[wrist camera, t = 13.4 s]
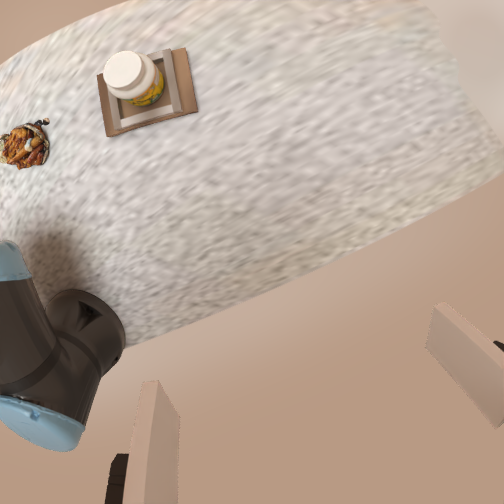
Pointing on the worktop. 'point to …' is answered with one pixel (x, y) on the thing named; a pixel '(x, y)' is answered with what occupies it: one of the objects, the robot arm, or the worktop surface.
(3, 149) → the brown lumpy food piece
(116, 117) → the socket board
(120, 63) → the supplement bottle
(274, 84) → the worktop surface
